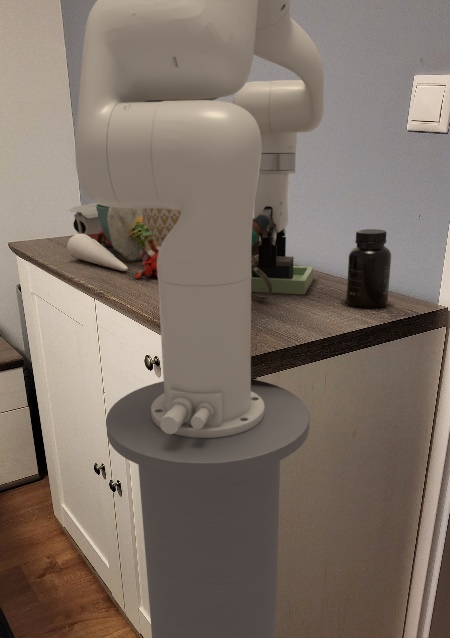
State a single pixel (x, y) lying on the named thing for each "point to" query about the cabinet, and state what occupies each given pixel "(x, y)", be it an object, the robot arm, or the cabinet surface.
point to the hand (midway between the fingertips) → (272, 262)
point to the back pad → (277, 268)
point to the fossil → (124, 231)
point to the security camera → (86, 219)
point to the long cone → (93, 252)
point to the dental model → (100, 238)
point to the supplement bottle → (369, 270)
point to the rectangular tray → (286, 282)
